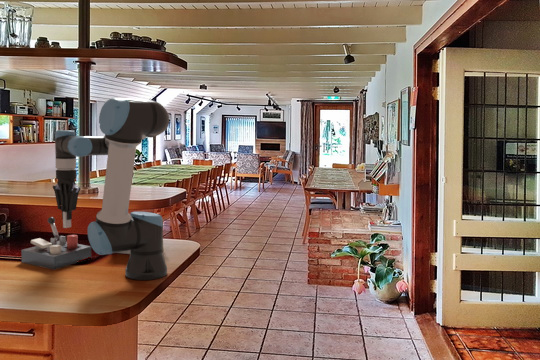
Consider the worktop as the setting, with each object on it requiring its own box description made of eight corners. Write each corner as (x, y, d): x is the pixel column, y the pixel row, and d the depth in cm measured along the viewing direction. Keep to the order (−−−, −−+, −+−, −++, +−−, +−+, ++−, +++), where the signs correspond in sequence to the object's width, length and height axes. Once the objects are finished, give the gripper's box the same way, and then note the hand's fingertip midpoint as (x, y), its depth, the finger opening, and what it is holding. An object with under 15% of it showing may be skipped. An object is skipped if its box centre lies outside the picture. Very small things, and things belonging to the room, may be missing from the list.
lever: (62, 237, 193) (55, 215, 193) (56, 238, 190) (49, 216, 191) (58, 239, 194) (51, 217, 195) (52, 240, 191) (45, 218, 192)
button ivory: (63, 258, 183) (63, 245, 182) (55, 260, 179) (54, 248, 179) (56, 256, 184) (56, 244, 184) (47, 259, 181) (47, 246, 180)
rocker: (51, 246, 185) (51, 243, 185) (42, 248, 182) (43, 245, 181) (39, 240, 188) (39, 238, 188) (30, 243, 184) (30, 240, 184)
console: (91, 258, 192) (91, 239, 191) (54, 269, 176) (53, 249, 175) (59, 251, 199) (59, 233, 198) (21, 262, 183) (21, 242, 182)
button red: (79, 247, 190) (79, 235, 189) (71, 249, 186) (71, 237, 186) (72, 246, 191) (72, 234, 191) (64, 248, 188) (64, 236, 187)
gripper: (85, 169, 187) (86, 227, 190) (62, 167, 193) (63, 223, 195) (70, 170, 180) (71, 230, 183) (46, 168, 186) (47, 227, 188)
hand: (67, 227), depth 189 cm, fingers closed
